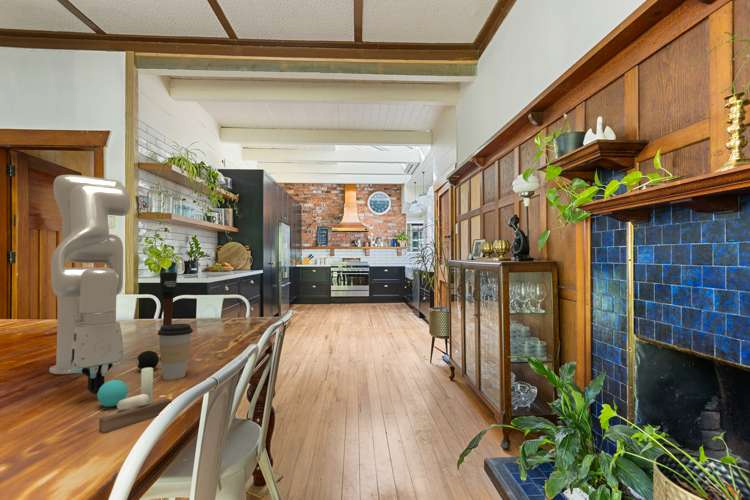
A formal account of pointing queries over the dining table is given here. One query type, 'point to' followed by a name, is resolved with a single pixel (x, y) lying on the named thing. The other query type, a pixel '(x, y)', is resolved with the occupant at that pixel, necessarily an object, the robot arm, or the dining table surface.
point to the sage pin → (147, 382)
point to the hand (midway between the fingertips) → (95, 392)
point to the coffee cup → (174, 349)
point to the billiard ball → (147, 360)
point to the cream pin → (133, 402)
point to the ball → (112, 393)
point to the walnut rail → (132, 415)
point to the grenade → (168, 294)
